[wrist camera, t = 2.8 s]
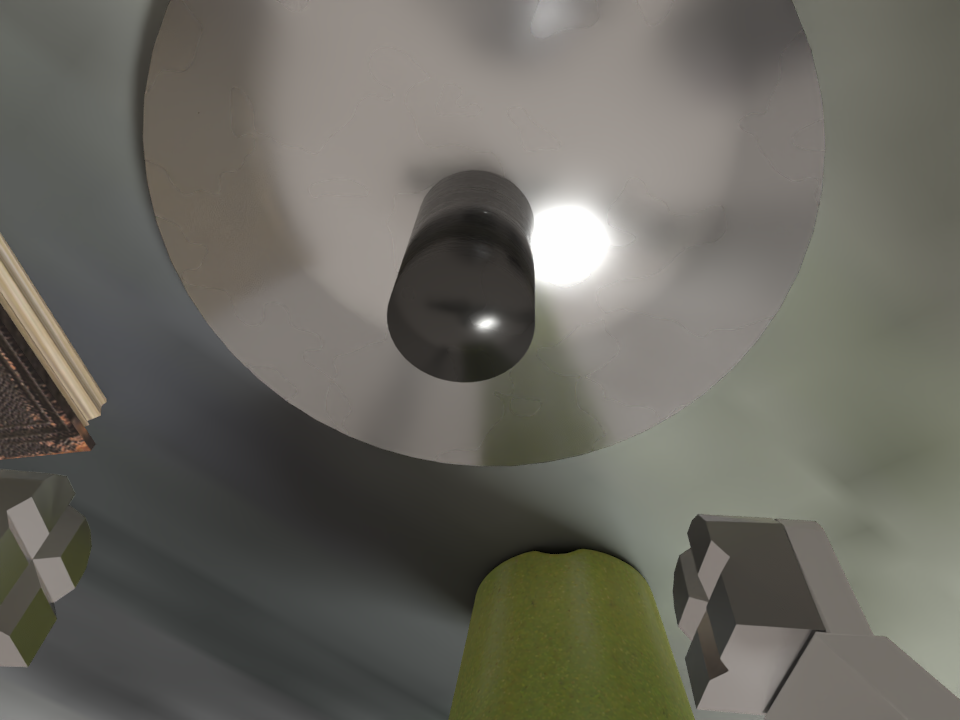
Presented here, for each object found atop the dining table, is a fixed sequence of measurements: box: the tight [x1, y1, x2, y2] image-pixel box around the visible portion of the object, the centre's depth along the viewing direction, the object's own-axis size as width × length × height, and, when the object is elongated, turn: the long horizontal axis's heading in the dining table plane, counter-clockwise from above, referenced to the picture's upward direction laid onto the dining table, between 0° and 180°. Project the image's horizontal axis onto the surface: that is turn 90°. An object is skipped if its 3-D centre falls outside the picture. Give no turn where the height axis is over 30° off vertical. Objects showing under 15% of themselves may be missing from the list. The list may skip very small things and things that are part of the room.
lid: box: [143, 0, 826, 466], centre depth 14 cm, size 15×15×5 cm
